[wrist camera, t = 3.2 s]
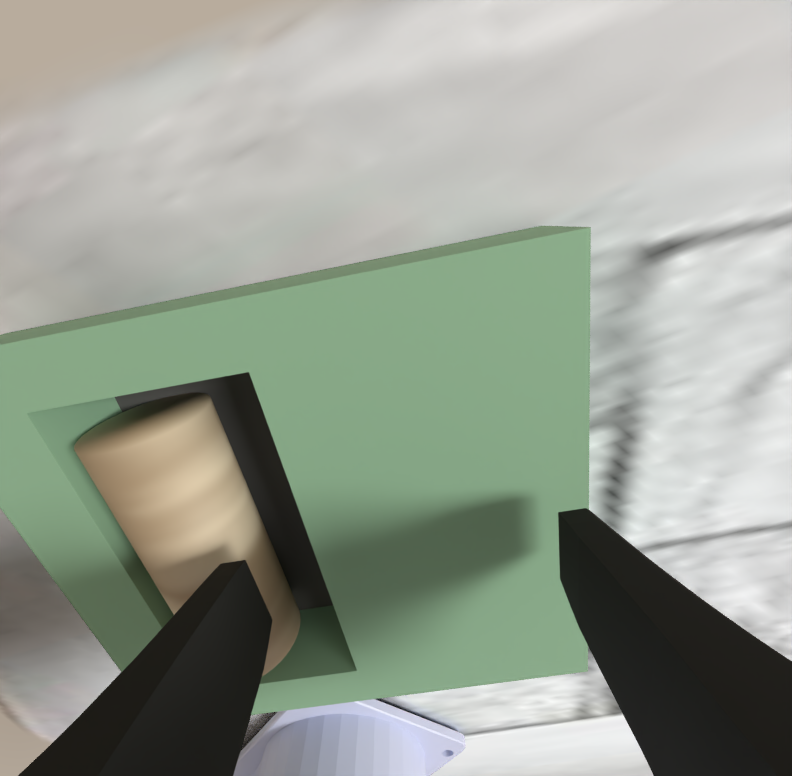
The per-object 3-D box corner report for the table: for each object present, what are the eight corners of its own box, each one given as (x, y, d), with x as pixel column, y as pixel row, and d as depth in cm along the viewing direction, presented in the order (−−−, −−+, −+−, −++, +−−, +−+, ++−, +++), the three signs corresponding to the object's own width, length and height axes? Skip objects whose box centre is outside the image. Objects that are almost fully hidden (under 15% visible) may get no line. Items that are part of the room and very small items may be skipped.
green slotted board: (541, 225, 9) (590, 227, 7) (556, 599, 14) (587, 671, 12) (6, 333, 10) (-105, 365, 8) (196, 650, 15) (162, 726, 13)
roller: (246, 588, 14) (316, 600, 13) (184, 673, 12) (265, 697, 11) (154, 394, 11) (235, 390, 10) (43, 453, 9) (136, 456, 8)
